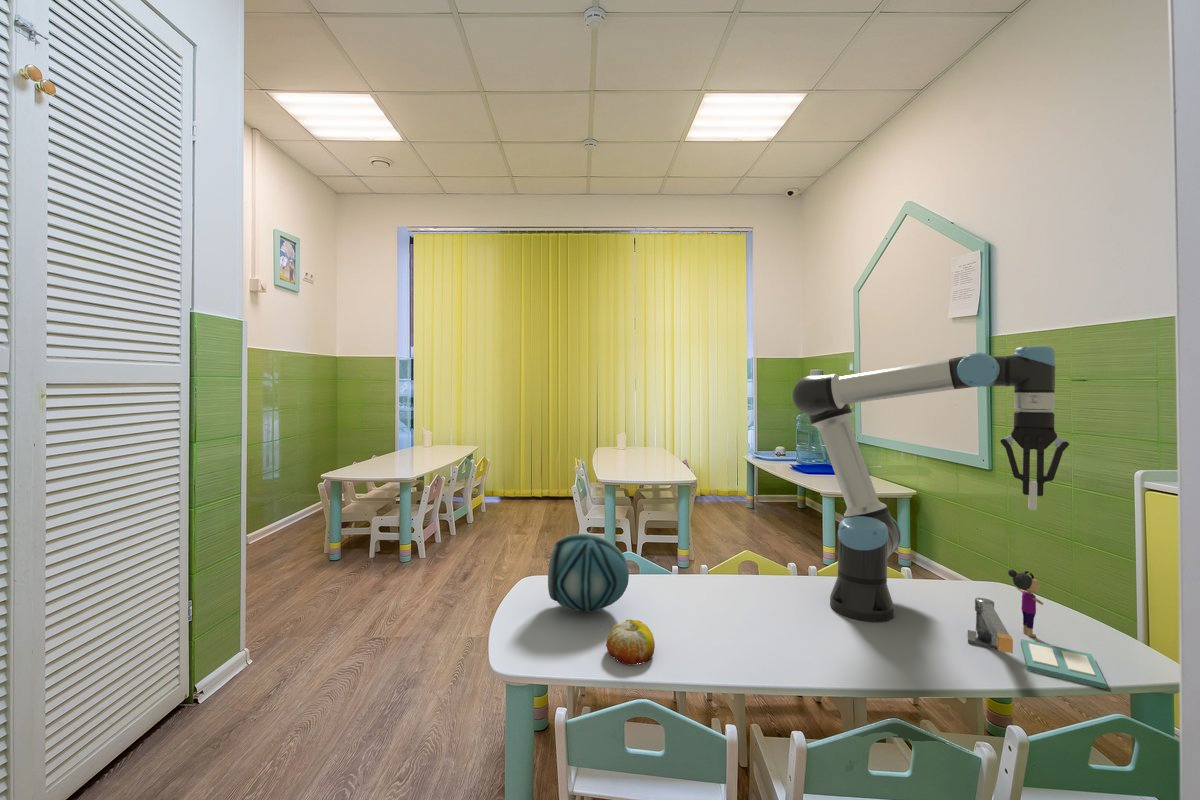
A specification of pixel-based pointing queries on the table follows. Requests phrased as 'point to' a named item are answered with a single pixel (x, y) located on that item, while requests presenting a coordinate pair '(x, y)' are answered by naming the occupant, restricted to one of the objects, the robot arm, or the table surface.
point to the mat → (1062, 663)
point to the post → (981, 634)
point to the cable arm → (994, 624)
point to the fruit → (631, 642)
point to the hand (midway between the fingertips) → (1032, 508)
